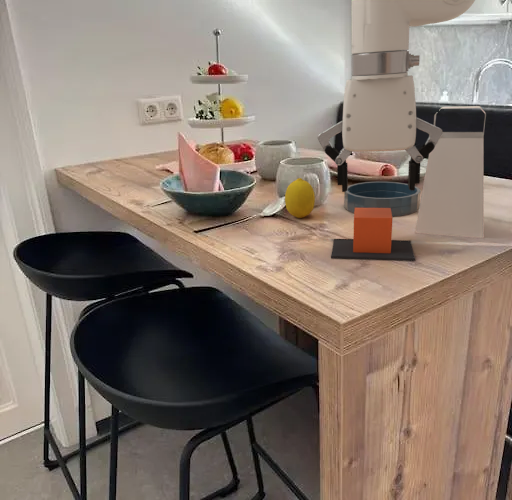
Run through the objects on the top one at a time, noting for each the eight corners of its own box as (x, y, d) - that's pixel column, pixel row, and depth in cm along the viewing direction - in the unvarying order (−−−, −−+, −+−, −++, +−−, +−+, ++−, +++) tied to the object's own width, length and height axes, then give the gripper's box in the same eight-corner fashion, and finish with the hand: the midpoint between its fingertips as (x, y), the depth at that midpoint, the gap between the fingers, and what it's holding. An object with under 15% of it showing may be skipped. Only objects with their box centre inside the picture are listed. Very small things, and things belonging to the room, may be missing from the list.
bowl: (415, 200, 103) (416, 181, 102) (422, 220, 90) (424, 198, 89) (345, 200, 106) (346, 181, 105) (342, 219, 93) (343, 198, 92)
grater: (420, 218, 91) (428, 105, 85) (483, 222, 88) (496, 104, 81) (414, 236, 82) (422, 110, 76) (483, 241, 78) (498, 109, 72)
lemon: (301, 214, 98) (300, 173, 95) (321, 220, 93) (321, 177, 91) (279, 220, 95) (278, 178, 92) (298, 226, 90) (297, 182, 88)
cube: (389, 241, 79) (390, 207, 77) (390, 253, 74) (392, 218, 72) (353, 240, 80) (354, 207, 79) (353, 252, 75) (353, 217, 74)
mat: (409, 240, 80) (409, 238, 80) (414, 261, 72) (415, 258, 72) (334, 238, 83) (334, 236, 83) (331, 258, 75) (331, 255, 74)
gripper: (442, 62, 70) (435, 182, 76) (318, 70, 74) (321, 184, 80) (450, 62, 63) (442, 194, 69) (313, 72, 67) (317, 196, 73)
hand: (377, 189), depth 74 cm, fingers open, 9 cm apart
